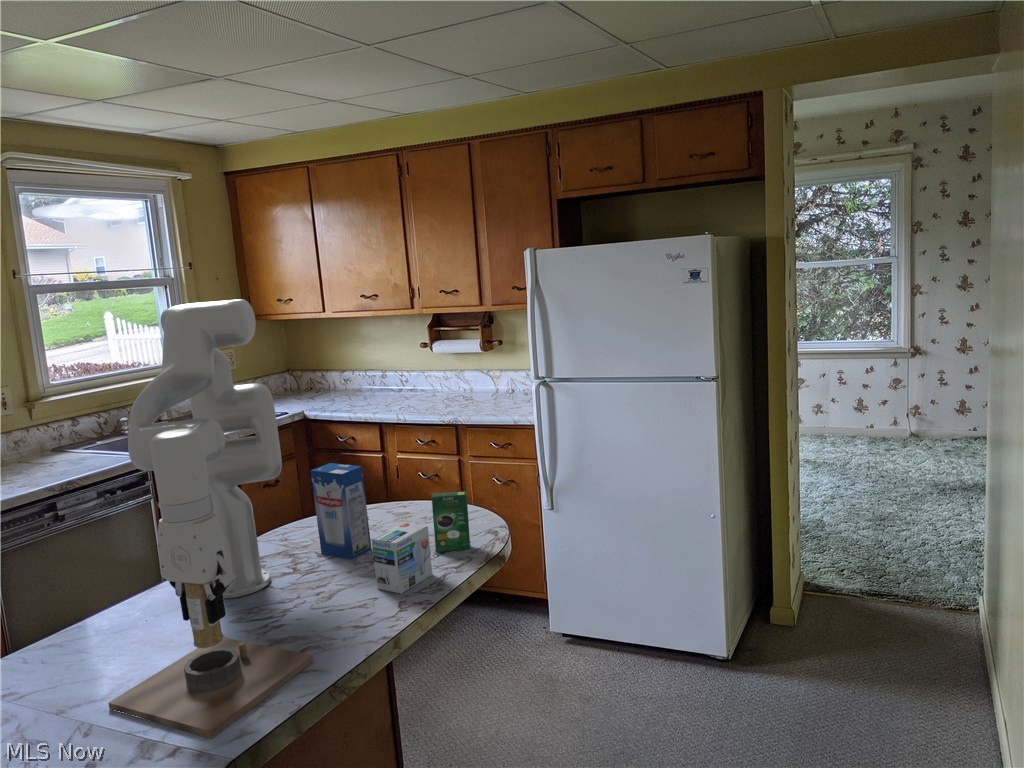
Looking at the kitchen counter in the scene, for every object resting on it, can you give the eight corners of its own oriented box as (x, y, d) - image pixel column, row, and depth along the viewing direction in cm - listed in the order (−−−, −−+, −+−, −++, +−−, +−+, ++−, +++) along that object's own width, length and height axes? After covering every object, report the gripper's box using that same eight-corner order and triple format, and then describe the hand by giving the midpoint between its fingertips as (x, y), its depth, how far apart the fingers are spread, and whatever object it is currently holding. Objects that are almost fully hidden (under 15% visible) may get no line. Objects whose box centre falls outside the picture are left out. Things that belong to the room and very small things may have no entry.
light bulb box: (401, 595, 154) (395, 543, 152) (375, 589, 158) (369, 539, 156) (434, 574, 163) (429, 524, 161) (409, 569, 167) (403, 521, 165)
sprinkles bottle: (227, 641, 125) (215, 562, 122) (198, 652, 122) (185, 571, 120) (218, 632, 128) (205, 555, 126) (189, 642, 125) (176, 563, 123)
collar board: (109, 709, 121) (104, 685, 121) (218, 642, 141) (215, 620, 140) (211, 738, 112) (207, 712, 111) (313, 661, 131) (310, 638, 130)
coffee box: (471, 544, 177) (466, 489, 175) (471, 549, 174) (466, 493, 172) (436, 548, 177) (430, 493, 175) (435, 553, 174) (430, 497, 172)
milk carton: (371, 550, 179) (361, 466, 176) (352, 560, 174) (342, 474, 171) (340, 544, 185) (330, 462, 181) (321, 554, 180) (310, 470, 176)
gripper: (127, 514, 121) (146, 624, 124) (212, 520, 115) (230, 635, 118) (164, 498, 128) (181, 603, 131) (246, 503, 121) (263, 612, 125)
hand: (204, 617), depth 124 cm, fingers closed on sprinkles bottle, 4 cm apart
